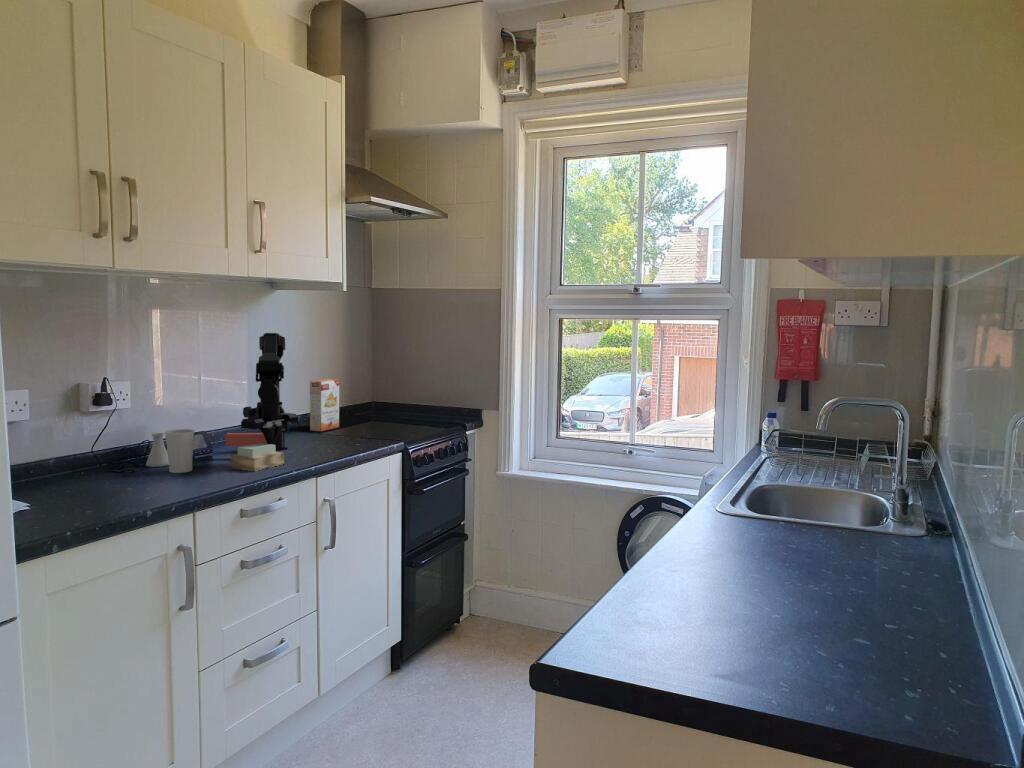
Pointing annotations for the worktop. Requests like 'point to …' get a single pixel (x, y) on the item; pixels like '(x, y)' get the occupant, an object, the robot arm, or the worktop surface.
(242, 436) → the red rectangular slab
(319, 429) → the cracker box
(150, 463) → the flask
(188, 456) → the cup
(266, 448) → the green soap bar
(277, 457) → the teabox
